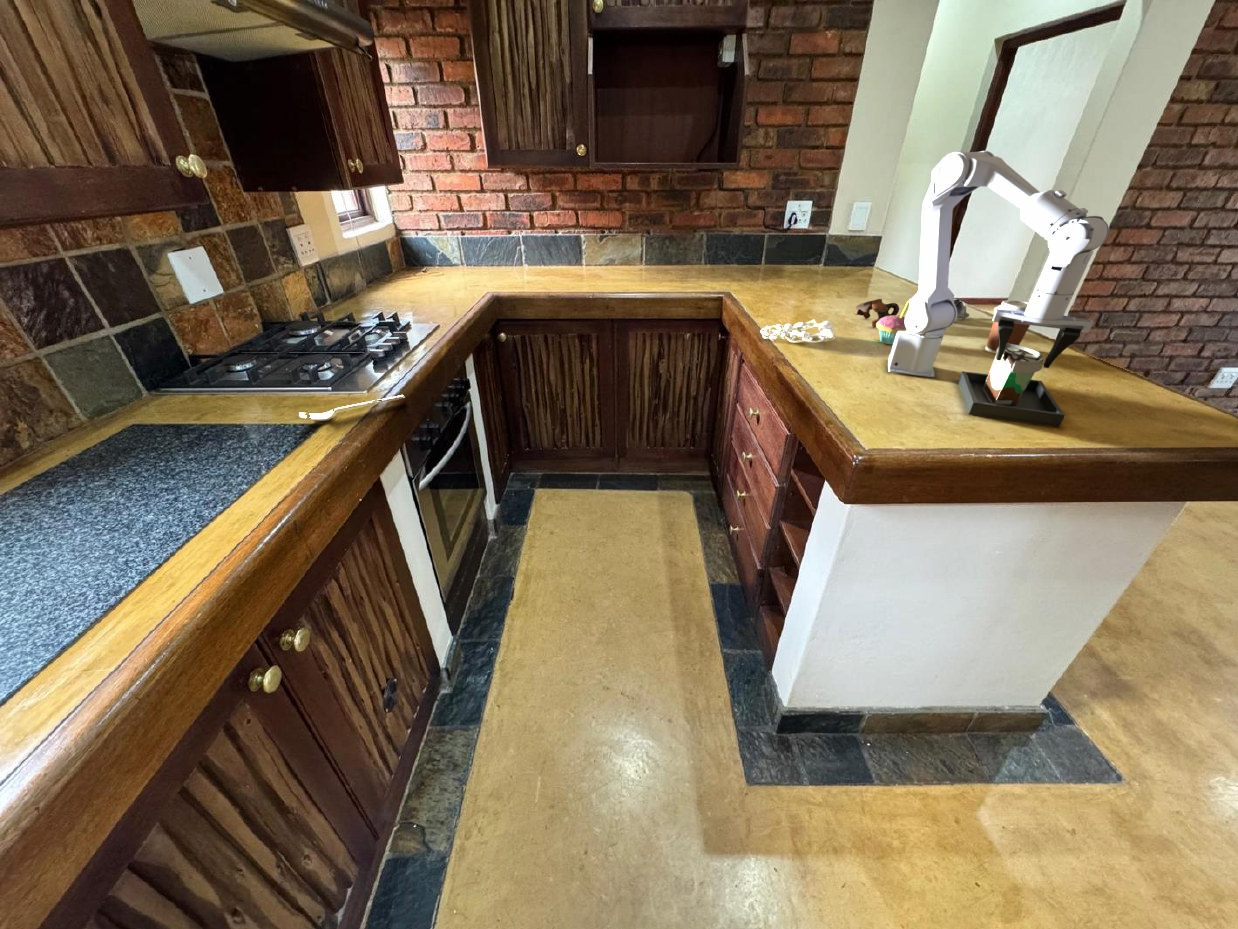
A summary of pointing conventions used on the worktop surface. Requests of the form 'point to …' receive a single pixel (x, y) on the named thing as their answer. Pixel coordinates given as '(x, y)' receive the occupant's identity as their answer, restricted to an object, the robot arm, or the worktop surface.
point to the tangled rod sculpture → (804, 336)
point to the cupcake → (891, 326)
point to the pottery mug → (876, 310)
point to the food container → (1011, 374)
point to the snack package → (961, 309)
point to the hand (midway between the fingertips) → (1021, 362)
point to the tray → (1029, 409)
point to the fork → (332, 413)
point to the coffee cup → (1018, 329)
